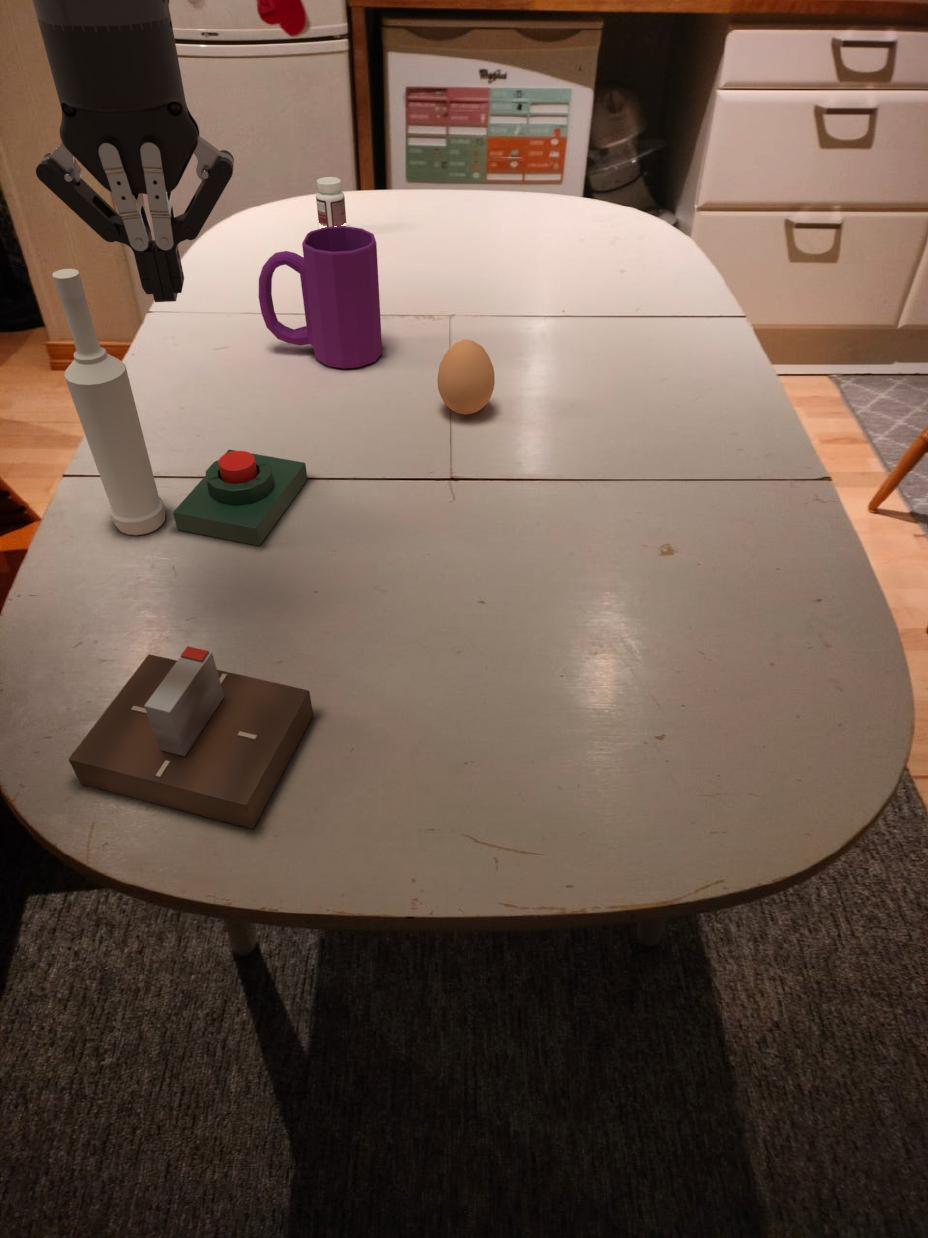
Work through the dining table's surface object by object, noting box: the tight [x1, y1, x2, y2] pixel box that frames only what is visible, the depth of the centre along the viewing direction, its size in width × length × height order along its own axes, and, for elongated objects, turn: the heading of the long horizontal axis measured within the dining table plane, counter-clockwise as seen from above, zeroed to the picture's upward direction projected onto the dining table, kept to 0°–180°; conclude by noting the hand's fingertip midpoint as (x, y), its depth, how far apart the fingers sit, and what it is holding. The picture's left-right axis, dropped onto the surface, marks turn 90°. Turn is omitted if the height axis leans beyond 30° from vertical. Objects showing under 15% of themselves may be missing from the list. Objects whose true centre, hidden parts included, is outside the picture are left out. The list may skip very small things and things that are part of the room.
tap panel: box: [68, 653, 314, 830], centre depth 64 cm, size 14×11×3 cm
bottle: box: [52, 268, 166, 536], centre depth 77 cm, size 5×5×25 cm
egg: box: [436, 339, 495, 415], centre depth 100 cm, size 7×7×9 cm
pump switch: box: [172, 449, 308, 546], centre depth 87 cm, size 12×9×4 cm
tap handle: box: [144, 645, 224, 756], centre depth 61 cm, size 6×2×5 cm, turn 164°
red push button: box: [218, 450, 257, 484], centre depth 85 cm, size 4×4×2 cm
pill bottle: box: [315, 176, 347, 227], centre depth 142 cm, size 5×5×8 cm
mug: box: [258, 225, 383, 370], centre depth 108 cm, size 9×16×15 cm, turn 87°
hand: (167, 297), depth 62 cm, fingers closed
